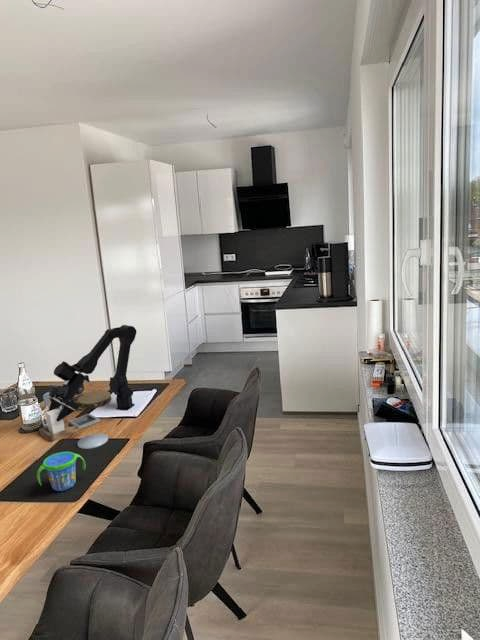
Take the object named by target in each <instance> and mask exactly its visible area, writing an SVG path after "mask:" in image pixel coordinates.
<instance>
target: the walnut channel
mask: <svg viewBox="0 0 480 640" xmlns="http://www.w3.org/2000/svg"><path fill="white" fill-rule="evenodd" d="M68 421H69V420H68V419H63V422H64V427H68V426H69V422H68ZM47 430H48V425H47V426H44V427H41V428H39V429H38V432H39V435H40V436H42V437H43V438H45V439H46V440H47V441H49V442H50V443H52V442H54V441H57V440H60V439H62V438H65V437H67V436H70V435H73V434H75V433H77V432H79V431H80V430H78V426H77V425H76V426H71V427H68V428H66V429H65V430H63V431H60V432H57V433H55V434H52V435H51V434H50V433H49V432H47Z"/></svg>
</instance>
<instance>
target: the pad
mask: <svg viewBox="0 0 480 640" xmlns="http://www.w3.org/2000/svg"><path fill="white" fill-rule="evenodd" d="M108 441H109V437H108V435H107V434H105V433H92V434H88V435H86V436H83V437H82V438H80V439H79V440H77V443H76V444H77V447H78V448H80V449H84V450H89V449H96V448H99V447H101V446H103V445H105V444H106V443H107V442H108Z"/></svg>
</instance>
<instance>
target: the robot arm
mask: <svg viewBox="0 0 480 640" xmlns="http://www.w3.org/2000/svg"><path fill="white" fill-rule="evenodd" d="M136 335H137V329H136V328H135V327H134V326H133V325H127V324H123V325H121V326H119V327H114V328H108V329H106V330H105V332H104V334H102V336H101V338H100V339H99V340H98V341H97V342H96V344H95V345H94V346H93V348H92V349H91V350H90V352H88V353H86V355H83V356H82V357H81V358H80V359H79V360H78V361H77V362H76V363H74V364H72V365H70V364H69V363H68V362H66V361H62V362H61V363H59V364H58V365H57V366H55V368H54V370H53V375H54V376H56V377H58V378H59V379H61V380H62V381H64V382H67V381H68V380H69V381H68V383H67V384H63V383H62V385H54V384H50V385H49V387H48V391H47V392H48V393H49V395H48V396H50V397H51V398H50V397H49V399H50V402H51V403H50V407H49V410H48V411H51V410H54V409H58V408H59V407H60V406H61V405H62V409H61V411H60V413H59V415H58V417H57V419H56V421H58V422H59V421H60V420H62V419H63V420H64V418H66V417H68V416H69V415H71V414H72V413H75V412H76V411H79V408H80V405H79V404H78V402H76V401H75V400H74V398H76V397H75V395H76V393H77V394H79V392H78V390H79V389H80V387H81V386H82V384H84V382H87V383H90V382H91V381H90V377H89V374H90V375H91V374H92V373H93V372H94V371H95V369H96V367H97V365H98V362H99V359H100V357H102V355H103V353H104V352H105V351H106V350H107V348H108V347H109V346H110V344H111V343H112V342H113V341H114V339H117V338H118V341H119V349H118V357H117V362H116V369H115V374H114V375H113V377H112V376H110V377H109V384H108V386H109V390H110V391H111V392H112V393H113V394H114V395H116V399H115V400H116V401H115V402H116V408H115V409H116V410H118V409H120V411H128V409H129V410H130V409H131V408H133V407H134V406H135V403H133V397H132V396H133V395H134V390H133V389H131V388H129V382H128V378H127V372H128V371H127V370H128V365H129V358H130V353H131V352H130V351H131V346H132V344H133V342H134V341H135V339H136ZM75 372H78V373H75ZM84 374H85V375H84ZM59 402H61V403H62V402H63V403H64V404H65V405H64V404H61V403H59ZM132 406H133V407H132Z"/></svg>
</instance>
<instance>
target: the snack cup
mask: <svg viewBox="0 0 480 640" xmlns="http://www.w3.org/2000/svg"><path fill="white" fill-rule="evenodd" d="M78 458H79V459H80V460H81V464H82V469H83V470H84V471H85V470H86V466H87V465H86V460H85V459H84V458H83V457H82V456H81V455H80V454H78V453H74V452H72V451H61V452H55V453H53V454H50V455H49V456H48V457H46V458H45V459H44V460H43V463H42V464H41V465H40V466H39V468H38V469H37V472H36V479H37V482H38V483H39V485H40V486H42V485H43V484H42V482H41V474H40V473H42V471H43V470H45V471H46V474H47V476H48V480H49V484H50V485H51V487H52V490H54V491H55V492H56V491H57V492H63V491H66V490H69V489H71V488H73V487H74V485H75V484H76V479H77V478H76V477H77V475H76V471H77V470H76V468H77V467H76V463H77V459H78Z"/></svg>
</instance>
